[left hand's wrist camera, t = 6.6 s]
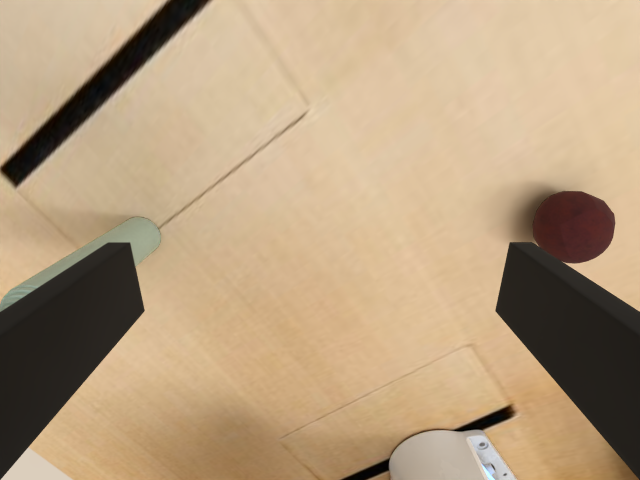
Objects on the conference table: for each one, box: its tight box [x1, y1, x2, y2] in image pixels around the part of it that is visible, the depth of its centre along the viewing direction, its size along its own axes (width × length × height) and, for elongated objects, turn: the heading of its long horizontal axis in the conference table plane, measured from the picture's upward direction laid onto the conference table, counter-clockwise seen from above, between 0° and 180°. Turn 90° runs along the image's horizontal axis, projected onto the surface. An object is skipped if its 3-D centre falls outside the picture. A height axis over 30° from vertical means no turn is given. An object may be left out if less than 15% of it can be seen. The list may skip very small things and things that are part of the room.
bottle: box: [0, 217, 161, 312], centre depth 32 cm, size 4×4×21 cm
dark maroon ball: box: [533, 191, 615, 263], centre depth 37 cm, size 7×8×7 cm
